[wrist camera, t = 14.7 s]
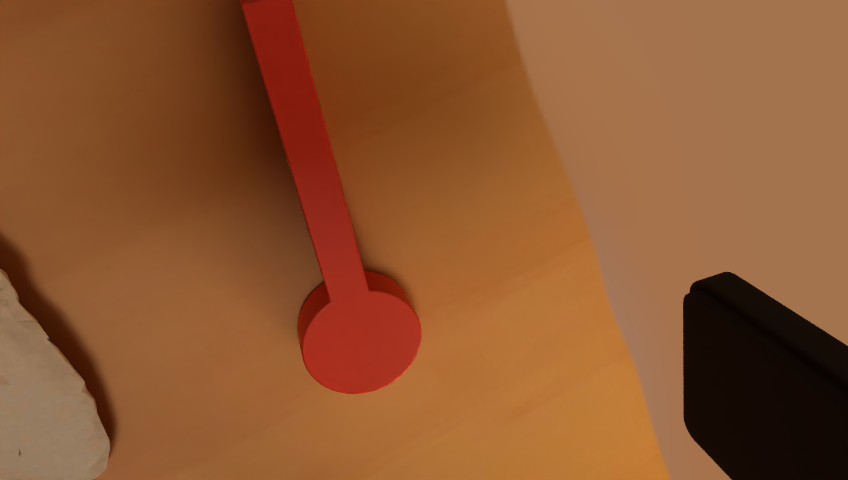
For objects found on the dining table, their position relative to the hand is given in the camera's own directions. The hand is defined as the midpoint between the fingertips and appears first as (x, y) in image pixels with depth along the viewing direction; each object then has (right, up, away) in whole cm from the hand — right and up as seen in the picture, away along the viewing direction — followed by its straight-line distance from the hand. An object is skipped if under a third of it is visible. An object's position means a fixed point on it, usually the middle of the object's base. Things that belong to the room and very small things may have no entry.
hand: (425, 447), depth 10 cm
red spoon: (-4, +4, +12) cm, 14 cm away
